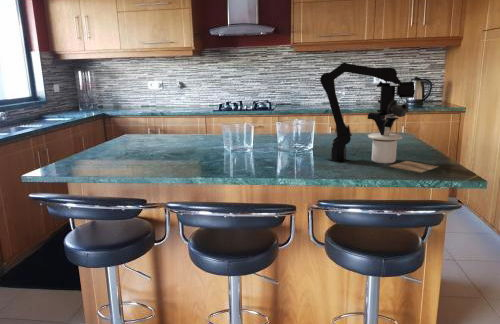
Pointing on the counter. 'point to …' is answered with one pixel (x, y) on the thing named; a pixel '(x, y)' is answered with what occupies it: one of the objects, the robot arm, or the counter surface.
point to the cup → (384, 151)
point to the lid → (385, 135)
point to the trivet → (413, 166)
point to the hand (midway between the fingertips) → (384, 134)
